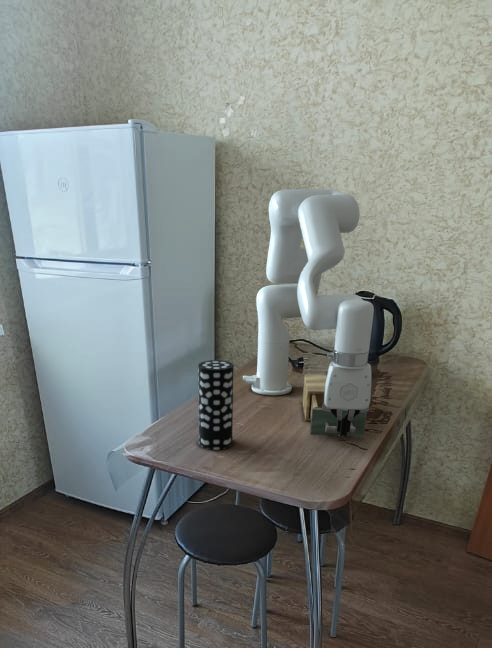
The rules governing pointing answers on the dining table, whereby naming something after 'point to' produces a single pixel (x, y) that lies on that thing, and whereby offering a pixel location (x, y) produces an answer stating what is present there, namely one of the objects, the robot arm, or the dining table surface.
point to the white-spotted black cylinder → (215, 404)
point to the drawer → (332, 419)
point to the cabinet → (312, 390)
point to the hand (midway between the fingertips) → (342, 434)
